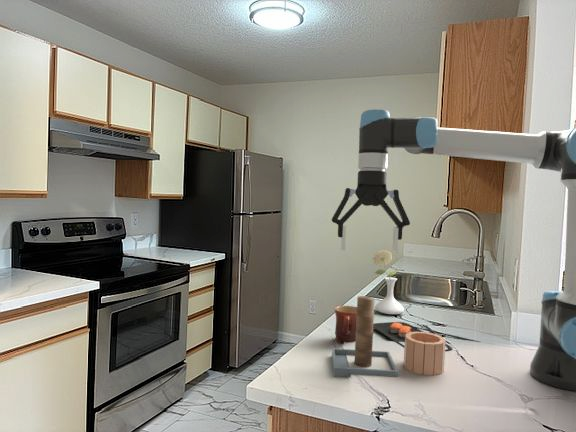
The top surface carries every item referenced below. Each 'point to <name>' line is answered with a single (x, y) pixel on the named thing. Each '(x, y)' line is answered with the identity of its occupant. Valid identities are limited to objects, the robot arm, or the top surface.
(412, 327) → the sushi plate
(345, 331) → the mug
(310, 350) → the top surface
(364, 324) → the peg
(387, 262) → the flower in vase
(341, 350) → the tray
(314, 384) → the top surface
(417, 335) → the cup
